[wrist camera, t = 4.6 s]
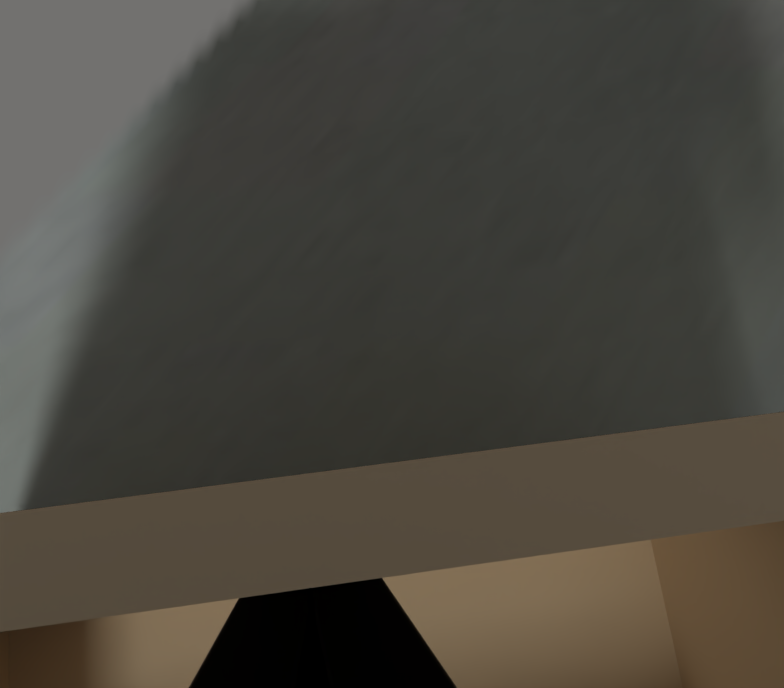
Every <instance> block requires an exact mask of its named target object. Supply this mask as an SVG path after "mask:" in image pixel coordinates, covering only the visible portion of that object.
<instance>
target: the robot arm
mask: <svg viewBox="0 0 784 688" xmlns="http://www.w3.org/2000/svg"><path fill="white" fill-rule="evenodd" d="M189 688H457V687H456V685H455V684H454V682H453V681H452V679H451V678H450V676H449V675H448V674H447V672H446V671H445V669H444V668H443V666H442V665H441V663H440V662H439V660H438V659H437V657H436V656H435V655H434V653H433V652H432V650H431V649H430V647H429V646H428V644H427V643H426V641H425V640H424V638H423V637H422V636H421V634H420V633H419V631H418V630H417V628H416V627H415V625H414V624H413V622H412V621H411V619H410V618H409V617H408V615H407V614H406V612H405V611H404V609H403V608H402V606H401V605H400V603H399V602H398V600H397V599H396V598H395V596H394V595H393V593H392V592H391V590H390V589H389V587H388V586H387V584H386V583H385V581H384V580H383V579H382V578H377V579H370V580H363V581H356V582H349V583H342V584H335V585H328V586H321V587H314V588H307V589H300V590H293V591H286V592H279V593H272V594H265V595H258V596H251V597H244V598H239V599H238V601H237V602H236V604H235V606H234V608H233V609H232V611H231V613H230V615H229V617H228V618H227V620H226V622H225V624H224V626H223V627H222V629H221V631H220V633H219V634H218V636H217V638H216V640H215V642H214V643H213V645H212V647H211V649H210V651H209V652H208V654H207V656H206V658H205V659H204V661H203V663H202V665H201V667H200V668H199V670H198V672H197V674H196V676H195V677H194V679H193V681H192V683H191V684H190V686H189Z"/></svg>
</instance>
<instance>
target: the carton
mask: <svg viewBox="0 0 784 688" xmlns="http://www.w3.org/2000/svg"><path fill="white" fill-rule="evenodd" d="M382 579H383V580H384V581H385V583H386V584H387V586H388V587H389V589H390V590H391V592H392V593H393V595H394V596H395V598H396V599H397V600H398V602H399V603H400V605H401V606H402V608H403V609H404V611H405V612H406V614H407V615H408V617H409V618H410V619H411V621H412V622H413V624H414V625H415V627H416V628H417V630H418V631H419V633H420V634H421V636H422V637H423V638H424V640H425V641H426V643H427V644H428V646H429V647H430V649H431V650H432V652H433V653H434V655H435V656H436V657H437V659H438V660H439V662H440V663H441V665H442V666H443V668H444V669H445V671H446V672H447V674H448V675H449V676H450V678H451V679H452V681H453V682H454V684H455V685H456V687H457V688H784V521H779V522H772V523H765V524H758V525H751V526H744V527H737V528H730V529H723V530H716V531H709V532H702V533H694V534H687V535H680V536H673V537H666V538H659V539H652V540H645V541H638V542H631V543H624V544H617V545H610V546H603V547H596V548H589V549H582V550H575V551H568V552H561V553H554V554H547V555H540V556H532V557H525V558H518V559H511V560H504V561H497V562H490V563H483V564H476V565H469V566H462V567H455V568H448V569H441V570H434V571H427V572H420V573H413V574H406V575H399V576H392V577H385V578H382ZM238 599H239V598H237V599H230V600H223V601H215V602H208V603H201V604H194V605H187V606H180V607H173V608H166V609H159V610H152V611H145V612H138V613H131V614H124V615H117V616H110V617H103V618H96V619H89V620H82V621H75V622H68V623H61V624H53V625H46V626H39V627H32V628H25V629H18V630H11V631H4V632H0V688H189V686H190V684H191V683H192V681H193V679H194V677H195V676H196V674H197V672H198V670H199V668H200V667H201V665H202V663H203V661H204V659H205V658H206V656H207V654H208V652H209V651H210V649H211V647H212V645H213V643H214V642H215V640H216V638H217V636H218V634H219V633H220V631H221V629H222V627H223V626H224V624H225V622H226V620H227V618H228V617H229V615H230V613H231V611H232V609H233V608H234V606H235V604H236V602H237V601H238Z"/></svg>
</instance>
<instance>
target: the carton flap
mask: <svg viewBox="0 0 784 688" xmlns="http://www.w3.org/2000/svg"><path fill="white" fill-rule="evenodd" d="M779 521H784V412H778V413H770V414H763V415H755V416H747V417H740V418H732V419H724V420H716V421H709V422H701V423H693V424H685V425H678V426H670V427H662V428H655V429H647V430H639V431H631V432H624V433H616V434H608V435H600V436H593V437H585V438H577V439H570V440H562V441H554V442H546V443H539V444H531V445H523V446H515V447H508V448H500V449H492V450H485V451H477V452H469V453H461V454H454V455H446V456H438V457H430V458H423V459H415V460H407V461H400V462H392V463H384V464H376V465H369V466H361V467H353V468H345V469H338V470H330V471H322V472H315V473H307V474H299V475H291V476H284V477H276V478H268V479H261V480H253V481H245V482H237V483H230V484H222V485H214V486H206V487H199V488H191V489H183V490H176V491H168V492H160V493H152V494H145V495H137V496H129V497H121V498H114V499H106V500H98V501H91V502H83V503H75V504H67V505H60V506H52V507H44V508H36V509H29V510H21V511H13V512H6V513H0V632H4V631H11V630H18V629H25V628H32V627H39V626H46V625H53V624H61V623H68V622H75V621H82V620H89V619H96V618H103V617H110V616H117V615H124V614H131V613H138V612H145V611H152V610H159V609H166V608H173V607H180V606H187V605H194V604H201V603H208V602H215V601H223V600H230V599H237V598H244V597H251V596H258V595H265V594H272V593H279V592H286V591H293V590H300V589H307V588H314V587H321V586H328V585H335V584H342V583H349V582H356V581H363V580H370V579H377V578H385V577H392V576H399V575H406V574H413V573H420V572H427V571H434V570H441V569H448V568H455V567H462V566H469V565H476V564H483V563H490V562H497V561H504V560H511V559H518V558H525V557H532V556H540V555H547V554H554V553H561V552H568V551H575V550H582V549H589V548H596V547H603V546H610V545H617V544H624V543H631V542H638V541H645V540H652V539H659V538H666V537H673V536H680V535H687V534H694V533H702V532H709V531H716V530H723V529H730V528H737V527H744V526H751V525H758V524H765V523H772V522H779Z"/></svg>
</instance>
